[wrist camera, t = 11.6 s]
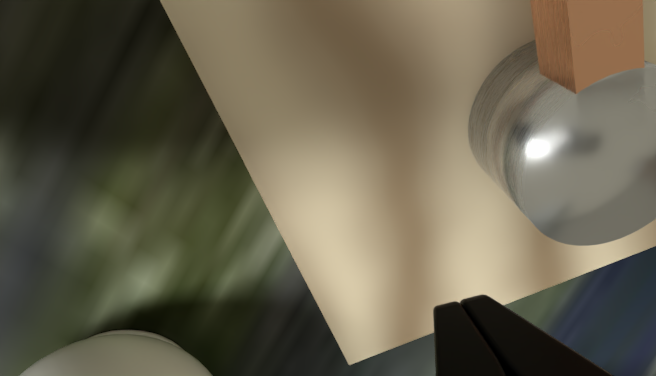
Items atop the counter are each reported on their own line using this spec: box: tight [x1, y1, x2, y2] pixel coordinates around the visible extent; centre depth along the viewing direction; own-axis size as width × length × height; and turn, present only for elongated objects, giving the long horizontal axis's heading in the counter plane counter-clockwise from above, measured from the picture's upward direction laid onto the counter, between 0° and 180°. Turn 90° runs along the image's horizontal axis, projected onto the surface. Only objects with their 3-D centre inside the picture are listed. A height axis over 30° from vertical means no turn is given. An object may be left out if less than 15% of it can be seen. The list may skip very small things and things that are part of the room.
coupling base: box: [160, 0, 656, 365], centre depth 20 cm, size 22×18×2 cm
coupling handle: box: [468, 0, 656, 246], centre depth 15 cm, size 15×6×4 cm, turn 19°
